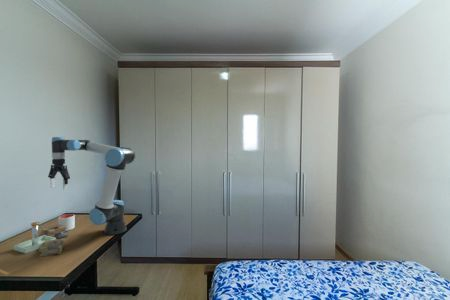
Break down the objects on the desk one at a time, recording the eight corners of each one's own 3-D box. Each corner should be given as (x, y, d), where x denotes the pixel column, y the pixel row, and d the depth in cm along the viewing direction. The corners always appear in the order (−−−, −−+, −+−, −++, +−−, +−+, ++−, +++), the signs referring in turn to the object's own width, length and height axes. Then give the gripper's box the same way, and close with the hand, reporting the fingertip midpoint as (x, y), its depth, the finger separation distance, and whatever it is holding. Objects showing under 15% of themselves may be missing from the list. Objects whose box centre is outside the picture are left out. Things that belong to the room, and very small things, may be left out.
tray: (56, 242, 155) (56, 237, 155) (25, 253, 139) (25, 248, 139) (44, 239, 160) (44, 235, 160) (13, 250, 144) (13, 245, 144)
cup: (77, 227, 183) (77, 214, 183) (68, 232, 173) (67, 218, 173) (65, 226, 184) (65, 213, 184) (55, 231, 174) (55, 218, 174)
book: (45, 247, 149) (44, 239, 149) (66, 243, 154) (65, 236, 154) (39, 257, 136) (39, 248, 136) (62, 253, 141) (62, 245, 141)
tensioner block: (72, 235, 167) (72, 228, 167) (57, 240, 158) (57, 233, 158) (56, 231, 174) (56, 224, 174) (42, 236, 164) (41, 229, 164)
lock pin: (40, 244, 150) (40, 222, 150) (33, 246, 147) (33, 224, 146) (36, 243, 152) (36, 221, 152) (29, 245, 148) (29, 223, 148)
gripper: (75, 158, 168) (76, 188, 168) (52, 157, 177) (53, 185, 178) (64, 159, 161) (65, 190, 162) (41, 158, 170) (42, 187, 171)
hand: (59, 188), depth 170 cm, fingers open, 13 cm apart
